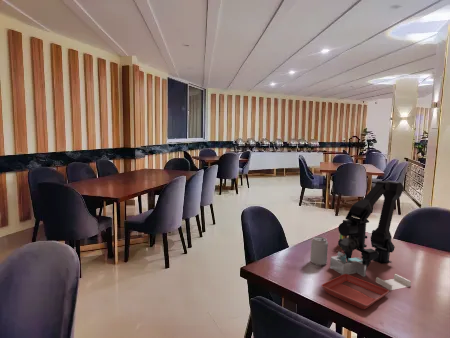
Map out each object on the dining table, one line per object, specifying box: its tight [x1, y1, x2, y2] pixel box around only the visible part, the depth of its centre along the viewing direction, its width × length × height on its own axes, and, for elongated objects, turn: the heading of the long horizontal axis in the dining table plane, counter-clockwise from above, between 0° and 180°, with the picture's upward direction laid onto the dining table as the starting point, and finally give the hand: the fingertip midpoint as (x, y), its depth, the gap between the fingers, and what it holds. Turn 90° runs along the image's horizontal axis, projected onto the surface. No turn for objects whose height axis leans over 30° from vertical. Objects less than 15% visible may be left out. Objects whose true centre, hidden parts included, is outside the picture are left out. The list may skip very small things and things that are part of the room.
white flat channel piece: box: [375, 273, 412, 291], centre depth 124 cm, size 11×7×2 cm, turn 111°
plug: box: [346, 256, 363, 263], centre depth 139 cm, size 7×4×4 cm, turn 111°
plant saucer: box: [321, 274, 390, 310], centre depth 116 cm, size 18×18×3 cm
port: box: [329, 251, 367, 278], centre depth 137 cm, size 8×16×6 cm, turn 21°
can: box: [309, 236, 329, 266], centre depth 145 cm, size 8×8×12 cm
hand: (355, 266), depth 139 cm, fingers open, 9 cm apart
